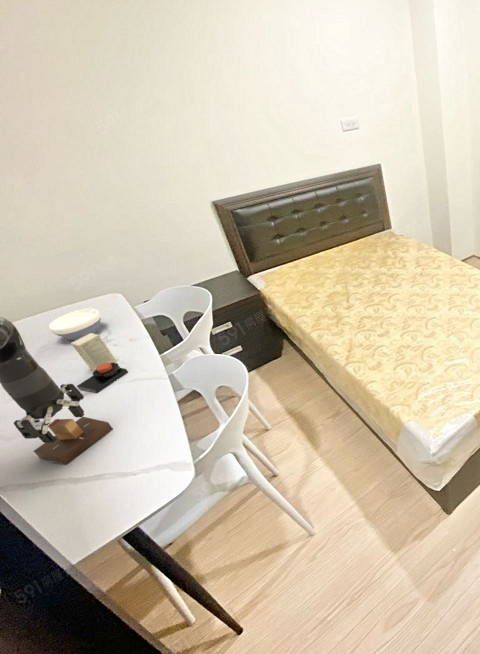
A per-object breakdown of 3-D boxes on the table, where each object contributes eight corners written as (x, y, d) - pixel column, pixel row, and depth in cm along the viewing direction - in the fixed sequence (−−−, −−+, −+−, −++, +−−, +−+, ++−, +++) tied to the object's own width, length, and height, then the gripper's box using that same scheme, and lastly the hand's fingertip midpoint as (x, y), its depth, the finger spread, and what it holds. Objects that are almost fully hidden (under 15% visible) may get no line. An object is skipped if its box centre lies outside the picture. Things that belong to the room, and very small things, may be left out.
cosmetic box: (110, 358, 145) (91, 331, 139) (117, 361, 143) (99, 334, 137) (89, 369, 140) (69, 342, 134) (97, 372, 138) (77, 345, 132)
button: (104, 374, 133) (101, 370, 132) (96, 372, 133) (93, 369, 133) (115, 367, 136) (112, 363, 135) (107, 365, 136) (105, 361, 136)
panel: (66, 465, 106) (59, 457, 105) (39, 458, 108) (32, 450, 107) (113, 429, 116) (107, 421, 115) (88, 423, 118) (82, 416, 117)
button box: (97, 393, 129) (91, 385, 128) (79, 389, 131) (73, 382, 129) (129, 371, 138) (124, 364, 136) (112, 368, 140) (106, 361, 138)
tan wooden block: (83, 432, 112) (72, 418, 109) (75, 439, 110) (63, 425, 107) (67, 432, 112) (55, 418, 109) (59, 439, 110) (47, 425, 107)
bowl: (98, 320, 167) (88, 305, 163) (115, 328, 161) (105, 313, 158) (52, 339, 156) (41, 324, 152) (69, 349, 150) (57, 333, 146)
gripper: (16, 406, 96) (56, 450, 104) (70, 366, 108) (101, 407, 116) (-15, 408, 95) (27, 451, 103) (42, 367, 108) (75, 409, 116)
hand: (66, 428), depth 110 cm, fingers open, 8 cm apart
